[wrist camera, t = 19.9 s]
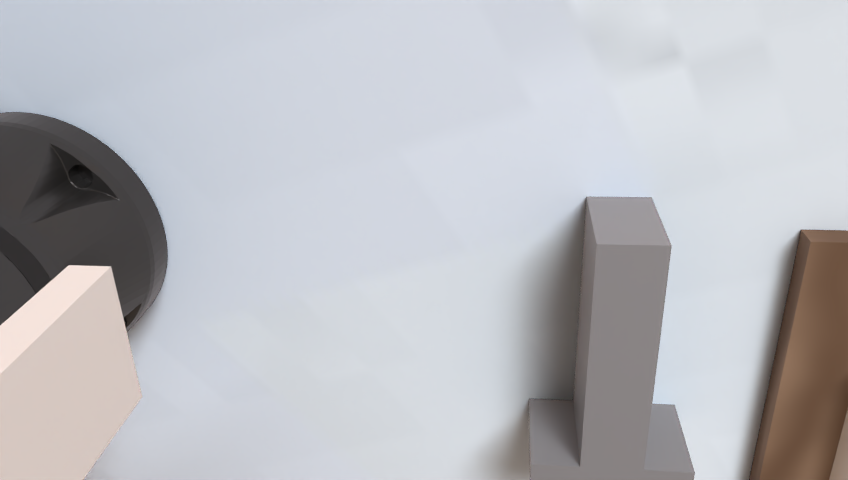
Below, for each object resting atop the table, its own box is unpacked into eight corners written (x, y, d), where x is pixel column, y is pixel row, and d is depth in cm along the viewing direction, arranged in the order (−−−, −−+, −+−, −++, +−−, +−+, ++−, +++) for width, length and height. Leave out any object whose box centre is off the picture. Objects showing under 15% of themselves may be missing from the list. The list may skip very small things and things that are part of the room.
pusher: (528, 417, 49) (530, 484, 43) (536, 195, 42) (539, 243, 37) (671, 423, 48) (691, 492, 42) (703, 197, 41) (731, 246, 36)
